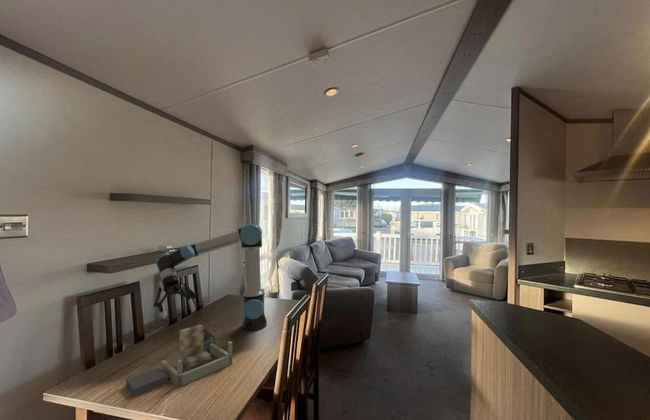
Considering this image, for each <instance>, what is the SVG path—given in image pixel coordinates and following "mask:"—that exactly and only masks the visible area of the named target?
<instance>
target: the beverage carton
mask: <svg viewBox="0 0 650 420" xmlns="http://www.w3.org/2000/svg"><path fill="white" fill-rule="evenodd" d="M212 343H213V344H215V345H216V346H217V338H216V337H215V336H214V335H213V334H212V333H211V332H210V331H208V329H206V328H205V327H204V343H203V352H204V351H207V352H210V344H212Z"/></svg>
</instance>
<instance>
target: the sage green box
mask: <svg viewBox="0 0 650 420" xmlns="http://www.w3.org/2000/svg"><path fill="white" fill-rule="evenodd" d="M209 353H210V354H211V355H213V356H215V357H217V358H218V359H214V360H213V361H212V360H211V362H210V363H207V364H205V365H202V366H200V367H197V368H195V369H192V370H190V371H187V372H185V373H182V368H183V367H182V362H183V361H182V360H181V359H180V360H179V359H178V360H176V368H174V367H173V366H172V365H171V364H170V363H169V362H168V361H166V360H165V359H162V360H161V361H160V369H161V370H162V371H163V372H164V373H165V374H167V375H168V380H170V381H171V382H173V384H174V385H175V386H176V387H177V388H180V387H181V386H184V385H186V384H189V383H191V382H194V381H196V380H198V379H200V378H202V377H203V378H204V377H205V376H207V375H210V374H211V373H214V372H216V371H220V370H221V369H223V368H226V367H228V366H230V365H233V341H228V342H227V351H226V350H224V349H223V348H221V347H220V346H217V344H216V345H215V344H213V343H212V344H210V351H209Z"/></svg>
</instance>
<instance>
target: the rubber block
mask: <svg viewBox="0 0 650 420" xmlns="http://www.w3.org/2000/svg"><path fill="white" fill-rule="evenodd" d="M168 381H169V378H168V375H167V374H165V373H164V372H163V371H162V370H161V367H159V366H158V367H156V368H152V369H151V370H148V371H147V370H146V371H145V372H142V373H139V374H137V375H133V376H130V377H128V378H126V379H125V387H126V389H127V390H128V391H129V393H130V394H131V396H132V397H133V398H135V397H137V396H139V395H143V394H145V393H147V392H151V391H152V390H155V389H157V388H159V387H162V386H164V385H167V384H168V383H169V382H168Z"/></svg>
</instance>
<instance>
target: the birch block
mask: <svg viewBox="0 0 650 420" xmlns="http://www.w3.org/2000/svg"><path fill="white" fill-rule="evenodd" d="M204 328H205V325H203V324H201V323H200V324H197V325H193V326H191V327H186V328H183V329H180V330H179V340H178V345H179V347H178V348H179V349H178V360H180V359H181V360H182V361H183V362H182V368H183V364H184V363H186V358H188V357H191V356H194V355H196V354H199V353H202V352H203V343H204Z"/></svg>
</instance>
